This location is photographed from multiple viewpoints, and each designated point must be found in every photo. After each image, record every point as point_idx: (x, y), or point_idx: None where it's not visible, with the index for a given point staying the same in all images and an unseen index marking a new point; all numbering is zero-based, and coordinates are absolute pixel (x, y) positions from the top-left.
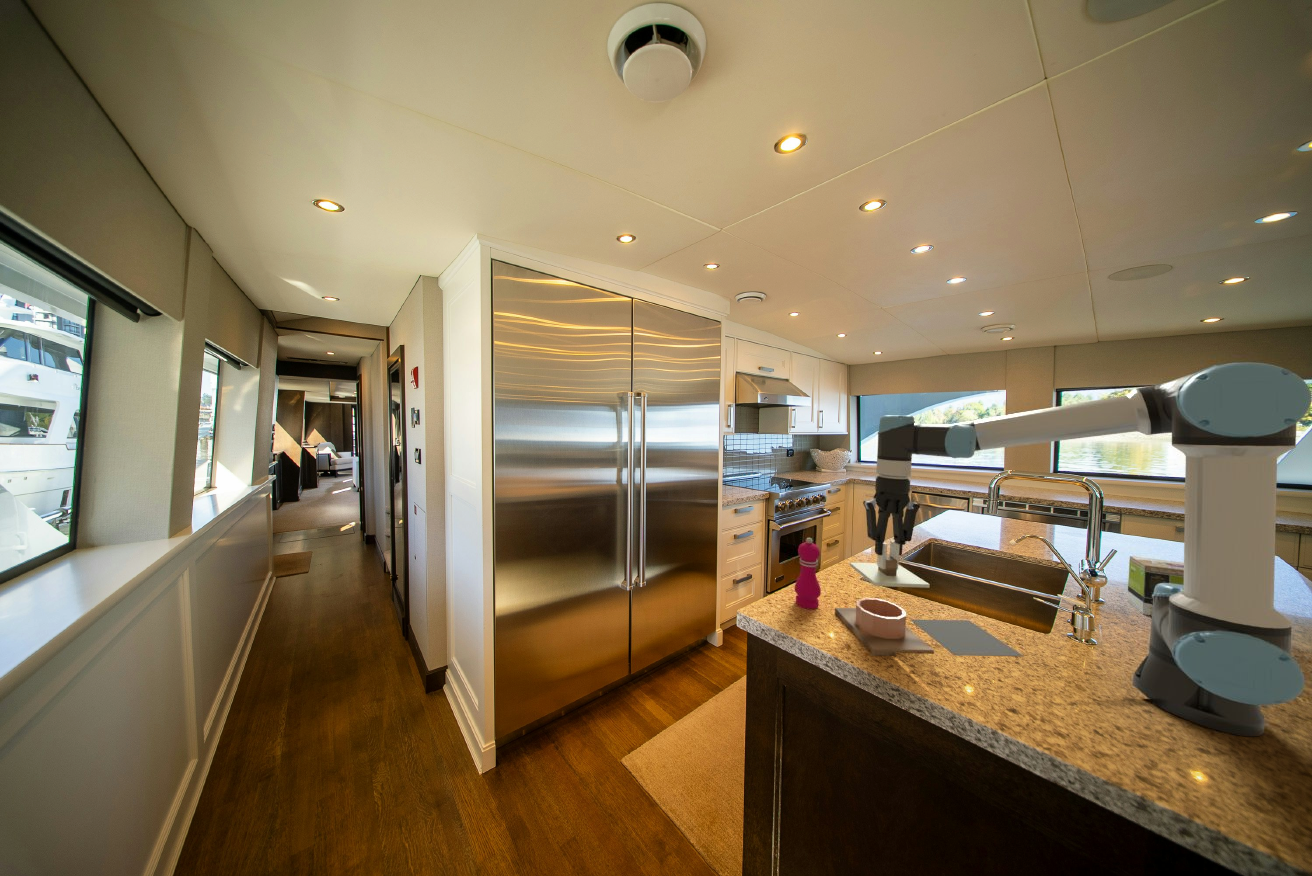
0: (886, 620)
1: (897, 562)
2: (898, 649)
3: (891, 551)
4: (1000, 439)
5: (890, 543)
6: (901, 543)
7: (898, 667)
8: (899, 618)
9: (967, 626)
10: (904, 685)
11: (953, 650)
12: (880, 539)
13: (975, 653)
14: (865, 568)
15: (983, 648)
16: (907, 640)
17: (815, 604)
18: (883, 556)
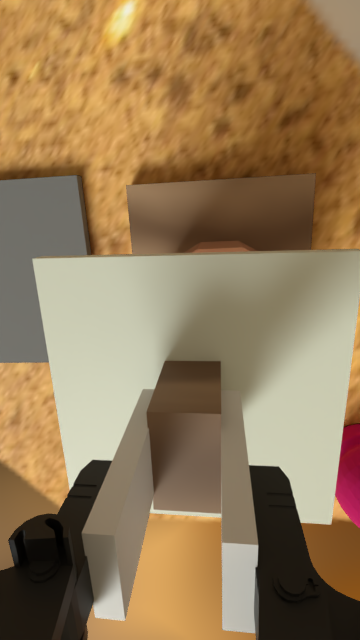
0: (244, 247)
1: (139, 414)
2: (234, 178)
3: (144, 510)
4: None
5: (131, 589)
6: (66, 529)
7: (269, 113)
8: (194, 252)
9: None
10: (308, 10)
11: (66, 199)
12: (320, 609)
13: (12, 189)
14: (288, 451)
15: None
16: (177, 234)
17: (351, 433)
18: (245, 445)
